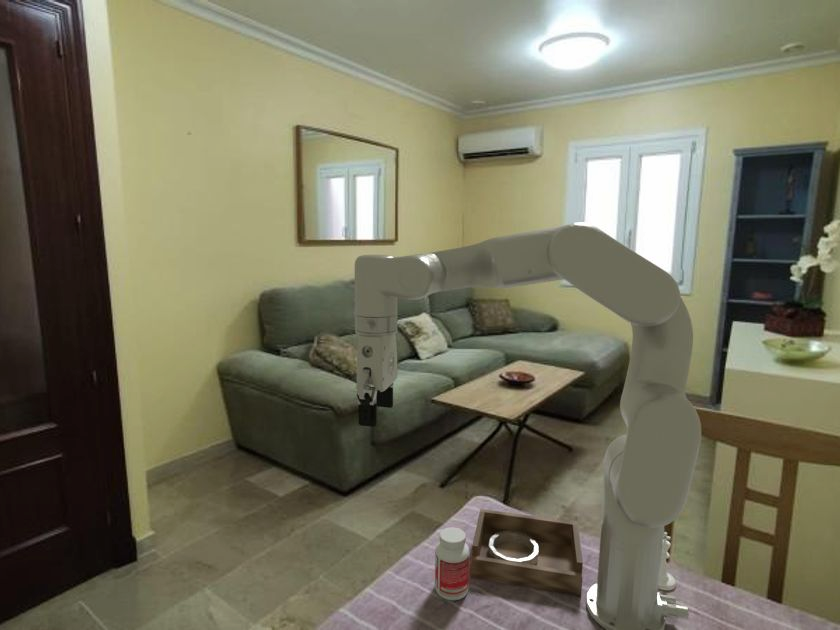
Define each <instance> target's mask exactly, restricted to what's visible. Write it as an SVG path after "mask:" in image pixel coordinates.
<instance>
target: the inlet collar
mask: <svg viewBox="0 0 840 630" xmlns="http://www.w3.org/2000/svg"><path fill="white" fill-rule="evenodd" d="M504 542H515V543H520V544H522V545H524V546H526V547H528V548H529V549H530V550H531V552H532V554H531V555H530V556H529V557H526V558H520V559H515V558H509V557H506V556H504V555H502V554H500V553H498V552H497V550H496V549H495V548H494V547H496V546H497V545H498V544H499V543H504ZM489 556H490V558H493V559H499V560H505V561H511V562H517V563H523V564H530V565H536V564H537V563H538V544H537V543H536V542H535V541H534V540H533V538H531V537H529V536H527V535H525V534H523V533H521V532H515V531H503V532H498V533H496V534H495V535H493V536H492V537H491V538H490V542H489Z"/></svg>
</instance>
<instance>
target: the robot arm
mask: <svg viewBox="0 0 840 630" xmlns="http://www.w3.org/2000/svg"><path fill="white" fill-rule="evenodd" d="M562 280H563V281H564V280H565V281H566V282H567V283H569V284H570V285H572V286H573V287H574V288H575V289H577V290H579V291H580V292H581V293H583V294H584V295H586V296H588V297H589V298H591V299H593V300H594V301H595V302H597V303H598V304H600V305H602V306H603V307H605V308H606V309H608V310H609V311H611V312H613V314H616V316H618V317H620V318H621V319H623V320H625V322H628V323H630V326H631V331H632V343H631V344H632V345H631V351H630V358H629V363H628V368H627V372H626V377H625V381H624V385H623V390H622V393H621V396H620V403H619V408H620V409H619V410H620V413H621V417H622V419H623V421H624V423H625V426H626V428H627V430H626V433H625V434H622V435H620V436H618V437H616V438H615V439H613V441H612V442H611V443H610V444H609V445H608V447H607V448H606V450H605V451H606V452H605V454H604V459H603V497H602V499H603V501H602V516H601V527H600V538H599V539H600V541H599V554H598V567H597V581H596V583H595V584H593V585H592V586H591V587H590V588H589V589H588V591H587V593H586V598H585V599H586V601H585V602H586V608H587V611H588V613H589V614H590V617H592V619H593V620H594V621H595V623H598V624H599V625H600V626H601V627H602V628H604V629H605V630H665V628H666V621H667V620H666V618H668V616H669V617H670V616H671V617H674V618H678V619H683V620H689V617H690V615H689V608H688V606H687V605H682V604H677V597H676V596H674V595H669V594H662V593H661V592H659V589H658V585H659V575H660V565H661V555H662V545H663V539H664V538H663V537H664V532H665V526H667V525H669V524H671V523H672V522H674V521H675V520H676V519H677V518H678V517H679V516H680V515H681V513H682V511H683V510H684V508H685V506H686V503H687V500H688V497H689V493H690V490H691V485H692V481H693V478H694V477H693V476H694V474H695V473H694V472H695V468H696V464H697V460H698V455H699V453H700V452H699V450H700V447H701V440H702V423H701V419H700V416H699V414H698V411H697V410H696V408H695V407H694V405H693V404H692V403H691V401H690V400H689V399H688V398H687V395H686V391H687V389H686V388H687V382H688V377H689V374H690V373H689V372H690V365H691V360H692V353H693V348H694V347H693V344H694V332H693V331H694V330H693V323H692V319H691V316H690V313H689V310H688V308H687V305H686V304H685V301H684V300H683V298H682V297H681V290H680V287H679V285H678V283H677V281H676V279H674V277H673V276H672V275H671V274H670V273H669V272H668V271H666V270H664V269H662V268H661V267H659V266H658V265H656V264H655V263H653V262H651V261H650V260H648V259H646V257H643V256H642V255H640V254H639V253H637V252H635V251H634V250H632V249H630V247H628V246H625V245H624V244H623V243H622V242H619V241H618V240H616V239H615V238H613V237H612V236H611V235H609V234H607V233H606V232H604V231H603V230H602V229H600V228H598V226H597V227H596V226H594V225H593V224H592V223H591V224H590V223H587V222H573V223H572V222H571V223H570V224H565V225H559V226H553V227H548V228H542V229H537V230H531V231H526V232H521V233H520V232H519V233H514V234H508V235H501V236H496V237H492V238H488V239H486V240H483V241H481V242H477V243H475V244H470V245H466V246H459V247H455V248H450V249H449V248H448V249H444V250H443V249H442V250H437V251H432V252H425V253H416V254H415V253H414V254H411V255H404V256H403V255H402V256H393V255H389V254H362V255H359V256H357V257H356V259H355V261H354V329H355V331H354V333H355V334H356V335H358V336H357V337H358V339H357V353H356V388H355V389H356V392H357V393H356V397H357V405H358V406H357V408H358V412H357V413H358V415H357V416H358V425H359V426H364V427H372V428H375V427H376V426H377V424H378V412H377V411H378V407H379V408H389V409H391V408H393V406H394V382H395V381H396V380H397V379H398V374H399V373H398V371H399V370H398V347H397V339H396V334H397V333H398V298H399V299H404V300H410V301H416V300H422V299H425V298H426V297H429V296H431V295H432V294H434V293H435V294H436V293H440V292H445V291H453V290H459V289H466V288H467V289H468V288H476V287H480V288H481V287H484V288H490V289H498V290H499V289H510V288H516V287H521V286H527V285H535V284H542V283H550V282H554V281H555V282H556V281H562ZM370 393H371V394H370Z"/></svg>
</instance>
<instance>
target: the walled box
mask: <svg viewBox="0 0 840 630" xmlns="http://www.w3.org/2000/svg"><path fill="white" fill-rule="evenodd" d="M578 525H579V524H578V522H576V521H570V520H569V521H568V520H563V519H555V518H549V517H541V516H540V517H539V516H533V515H528V514H527V515H526V514H518V513H513V512H512V513H510V512H505V511H498V510H491V509H483V508H480V510H479V513H478V519H477V522H476V528H475V533H474V536H473V541H472V547H471V551H472V552H471V559H470V560H471V561H470V562H471V563H470V564H471V565H470V578H471V579H475V580H476V579H477V580H483V581H488V582H493V583H494V582H495V583H498V584H499V583H501V584H504V585H505V584H506V585H511V586H512V585H513V586H518V587H523V588H529V589H534V590H540V591H546V592H553V593H557V594H558V593H559V594H563V595H564V594H565V595H569V596H576V597H580V598H581V597H582V589H583V578H584V577H583V568H584V567H583V565H584V563H583V561H584V560H583V555H582V547H581V541H580V531H579V526H578ZM503 531H515V532H521V533H523V534H525V535H527V536H529V537H531V538H533V540H534V541H535V542H536V543H537V544H538V563H537V564H536V565H530V564H523V563H517V562H511V561H505V560H499V559H493V558H490V556H489V542H490V538H491V537H492V536H493V535H495V534H496V533H498V532H503ZM494 548H495V549H496V550H497V552H498V553H500V554H502V555H504V556H506V557H509V558H515V559H520V558H526V557H529V556H530V555H531V554H532V552H531V550H530V549H529V548H528V547H526V546H524V545H522V544H520V543H515V542H504V543H499V544H498V545H497V546H496V547H494Z"/></svg>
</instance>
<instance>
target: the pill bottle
mask: <svg viewBox="0 0 840 630" xmlns="http://www.w3.org/2000/svg"><path fill="white" fill-rule="evenodd" d="M466 537H467V535H466V532H465V531H464V530H462V529H461V528H460V527H459V528H458V527H451V526H450V527H446V528H443V529H442V530H441V531H440V533H439V541H438V543H437V545H436V546H435V554H434V555H435V557H434V558H435V559H434V561H435V562H434V563H435V564H434V565H435V567H434V568H435V569H434V580H435V581H434V586H435V587H434V589H435V592H436V594H437V595H438V596H440V597H441V598H442V599H444V600H448V601H457V600H461V599H464V597H466V595H468V592H469V582H470V548H469V546H468V544H467V543H466V542H467V538H466Z"/></svg>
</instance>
